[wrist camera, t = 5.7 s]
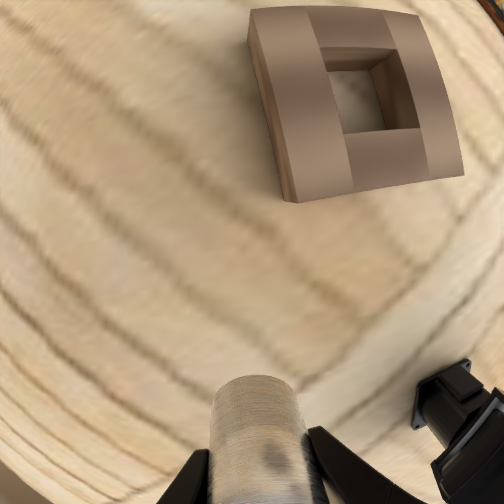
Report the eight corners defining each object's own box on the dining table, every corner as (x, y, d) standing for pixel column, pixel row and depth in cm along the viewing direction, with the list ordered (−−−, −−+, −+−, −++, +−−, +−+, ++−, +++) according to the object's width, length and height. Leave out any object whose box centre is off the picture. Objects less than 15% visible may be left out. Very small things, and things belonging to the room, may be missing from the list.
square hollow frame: (429, 176, 18) (464, 175, 15) (284, 201, 18) (298, 203, 14) (392, 37, 16) (418, 15, 12) (247, 40, 16) (250, 9, 12)
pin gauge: (302, 425, 10) (359, 612, 2) (225, 441, 10) (230, 631, 2) (289, 365, 9) (370, 604, 1) (200, 384, 9) (178, 623, 1)
